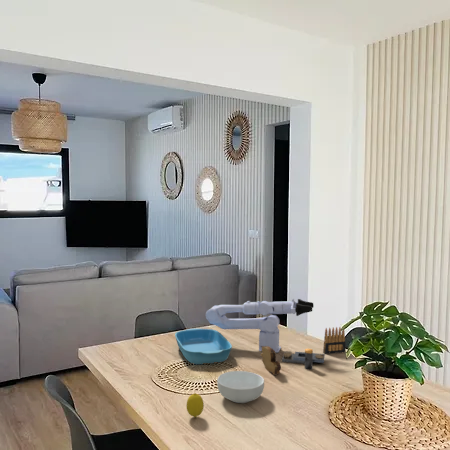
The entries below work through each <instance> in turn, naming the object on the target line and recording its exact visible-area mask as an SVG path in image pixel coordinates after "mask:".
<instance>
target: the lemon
mask: <svg viewBox="0 0 450 450" xmlns="http://www.w3.org/2000/svg"><path fill="white" fill-rule="evenodd" d="M203 410H204V400H203V397H202V396H201V395H200V394H198V393H196V392H194V393H193V394H191V395H189V396H188V398H187V401H186V411H187V414H188V415H190V416H191V417H193V418H194V419H195V418H197V417H199V416H201V414H202V413H203Z"/></svg>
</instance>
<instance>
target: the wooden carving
mask: <svg viewBox="0 0 450 450" xmlns="http://www.w3.org/2000/svg"><path fill="white" fill-rule="evenodd" d="M261 352H262V353H260V357H262V360H261V361H262V364H263V366H264V367H265V369H266V370H267V371H268V372H269V373H272V374H273V375H274V376H276V375H278V374H280V373H281V372H280V371H281V370H282V367H281V363H280V361H279V360H276V359H277V358H276V356H277V355H276V354H277V352H275V351H274V350H273V349H272V348H271V347H269V346H262V351H261Z"/></svg>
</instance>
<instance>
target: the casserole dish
mask: <svg viewBox="0 0 450 450" xmlns="http://www.w3.org/2000/svg"><path fill="white" fill-rule="evenodd" d="M174 337H175V340H176V343H177V344H176V345H177V347H178V348H179V350H180V352H181V353H182V355H183V357H184V358H185V359H186V361H188V362H189V363H191V364H192V363H194V364H193V365H204V364H203V363H210V364H215V363H214V362H218V363H222V362H224V361H227V360H228V358H229V356H230V353H231V350H232V348H233V345H232V344H231V342H230V341H229V340H228V339H227V338H226V337H225V336H224V335H223V334H222V333H221V332H219V331H218V330H217V329H213V328H196V327H195V328H187V329H184V330H179V331H177V332H175V334H174Z"/></svg>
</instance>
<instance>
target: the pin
mask: <svg viewBox="0 0 450 450" xmlns="http://www.w3.org/2000/svg"><path fill="white" fill-rule="evenodd" d="M313 351H314V350H313V349H312V348H305V349H304V352H305V364H304V369H305V370H307V371H311V370H313V363H314V362H313V353H314V352H313Z"/></svg>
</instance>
